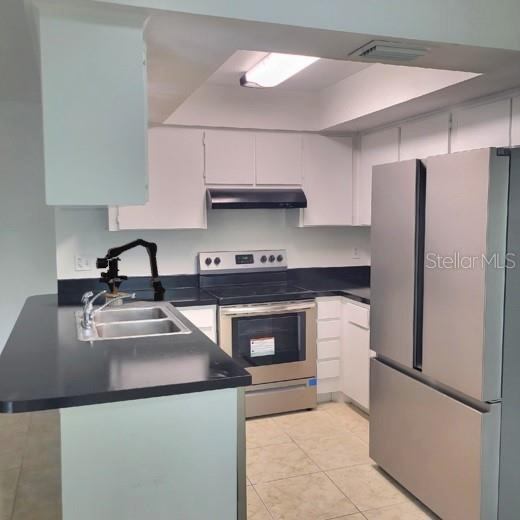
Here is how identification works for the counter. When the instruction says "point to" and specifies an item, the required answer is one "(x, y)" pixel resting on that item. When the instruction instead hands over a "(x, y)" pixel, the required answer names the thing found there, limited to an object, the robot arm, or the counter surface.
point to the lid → (114, 293)
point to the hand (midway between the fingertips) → (113, 292)
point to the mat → (140, 304)
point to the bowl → (117, 302)
